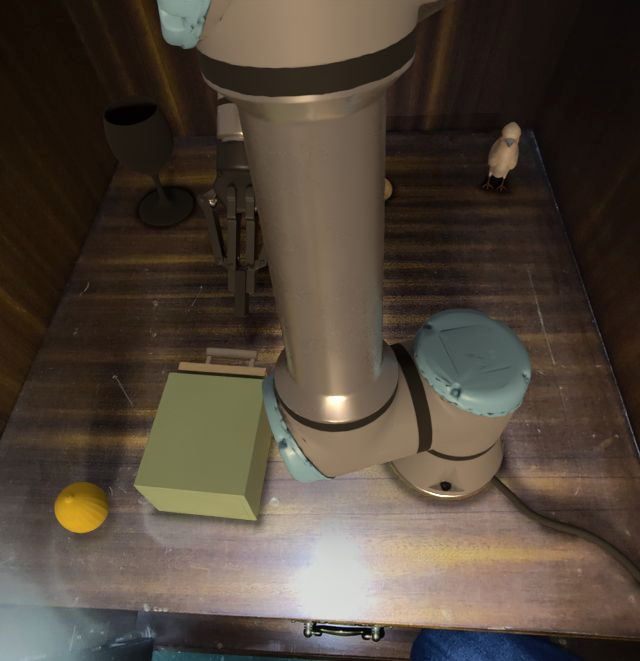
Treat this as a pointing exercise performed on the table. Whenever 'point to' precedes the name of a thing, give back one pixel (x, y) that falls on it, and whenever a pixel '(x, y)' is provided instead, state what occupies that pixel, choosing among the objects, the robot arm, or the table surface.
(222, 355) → the drawer
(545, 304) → the table surface
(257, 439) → the cabinet
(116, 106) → the wine glass
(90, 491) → the lemon
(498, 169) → the bird
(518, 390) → the robot arm
